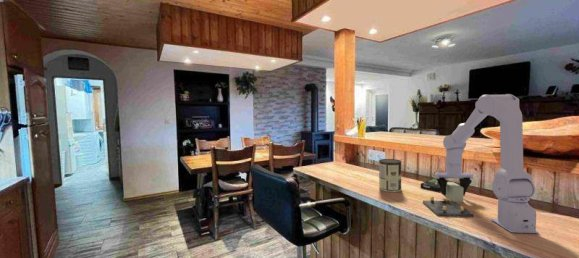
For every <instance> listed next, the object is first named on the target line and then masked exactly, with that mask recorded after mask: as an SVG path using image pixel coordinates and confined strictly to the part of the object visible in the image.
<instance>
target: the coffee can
mask: <svg viewBox="0 0 579 258" xmlns="http://www.w3.org/2000/svg"><path fill="white" fill-rule="evenodd" d="M378 168H379V169H378V175H379V176H378V177H379V178H378V180H379V181H378V183H379V186H378V189H379V190H381V191H384V192H386V193H399V192H401V191H402V160H400V159H397V158H396V159H394V158H381V159H378Z"/></svg>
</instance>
